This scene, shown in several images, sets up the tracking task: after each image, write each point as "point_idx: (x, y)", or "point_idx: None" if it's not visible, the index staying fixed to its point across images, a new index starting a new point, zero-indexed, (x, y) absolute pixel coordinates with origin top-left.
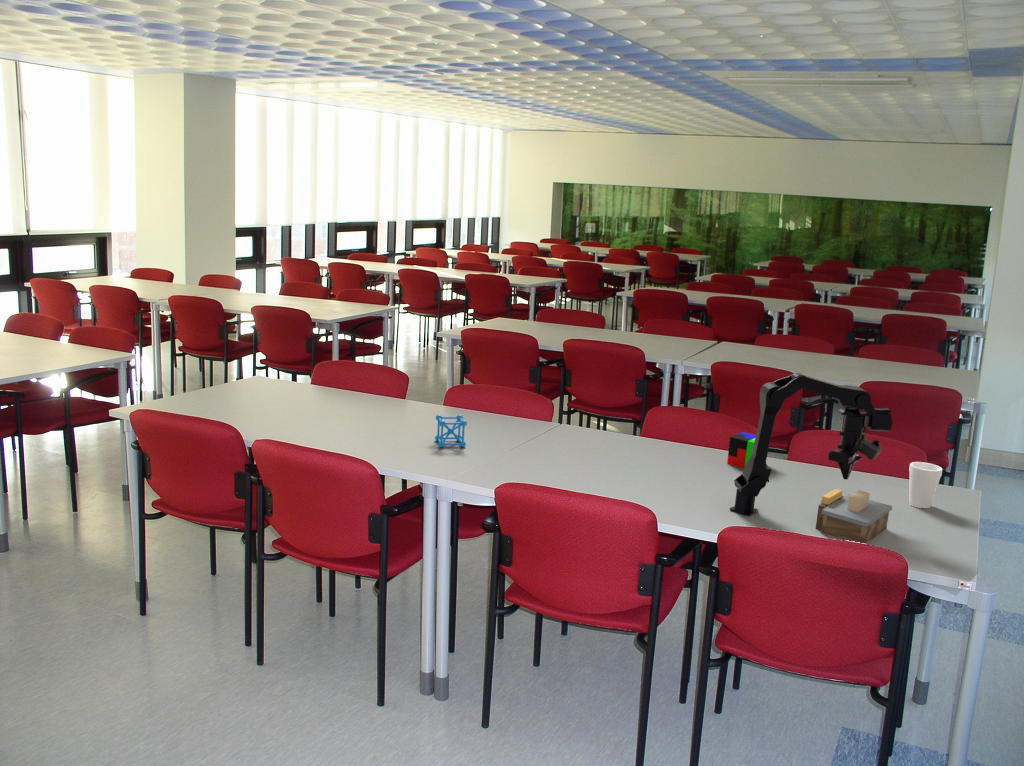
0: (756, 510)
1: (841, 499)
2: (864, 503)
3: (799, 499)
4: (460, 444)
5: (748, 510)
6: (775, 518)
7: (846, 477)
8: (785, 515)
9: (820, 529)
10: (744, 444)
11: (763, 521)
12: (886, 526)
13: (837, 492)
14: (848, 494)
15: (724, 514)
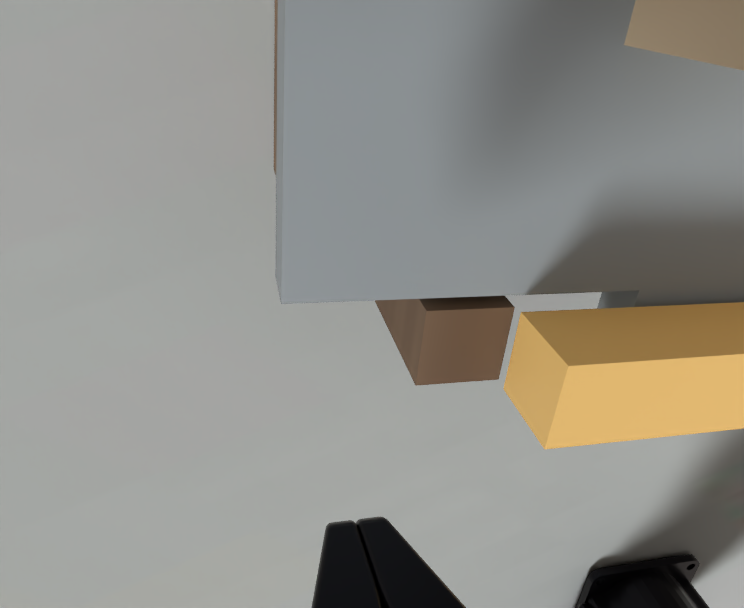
0: (620, 573)
1: (583, 277)
2: None
3: (160, 573)
4: None
5: (678, 585)
6: (650, 473)
7: (411, 559)
8: (564, 469)
9: None
10: None
11: (731, 482)
12: None
13: (703, 368)
14: (290, 301)
15: (720, 605)
